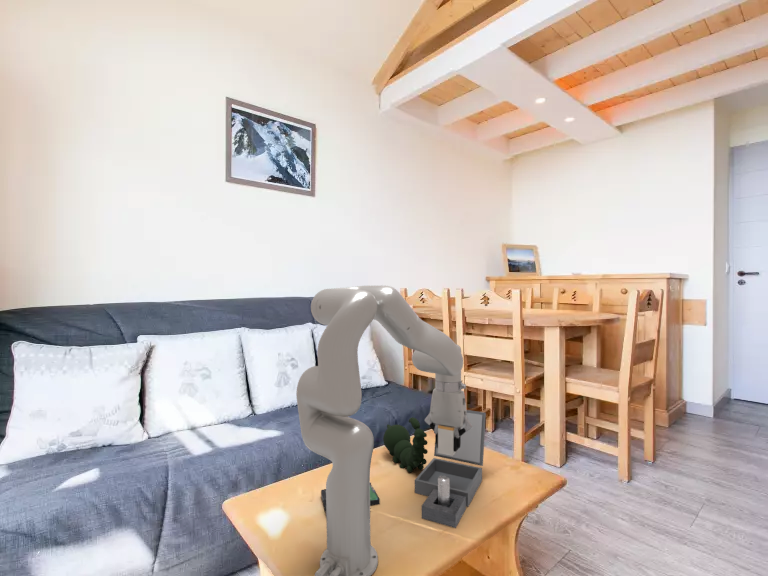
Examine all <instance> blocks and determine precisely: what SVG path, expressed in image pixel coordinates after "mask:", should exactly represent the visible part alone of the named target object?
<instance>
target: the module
mask: <svg viewBox="0 0 768 576" xmlns="http://www.w3.org/2000/svg"><path fill="white" fill-rule="evenodd" d="M454 437H455V432H454V427H450V426H444V425H438V453H441V454H446V455H450V456H453V455H454V454H455V453H456V452H457V451H456V452H455V451H454Z"/></svg>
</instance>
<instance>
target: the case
mask: <svg viewBox="0 0 768 576" xmlns="http://www.w3.org/2000/svg"><path fill="white" fill-rule="evenodd" d="M439 476H447V477H449V480H450V493H452V494H456V495H460V496H464V497H466V508H469V507H470V505H471V502H472V500H473V499H474V498H475V497H474V496H475V495H476V493H477V492H478V490H479V488H480V486H481V483H482V482H483V468H482V467H478V466H473V465H468V464H464V463H459V462H455V461H450V460H447V459H446V460H445V459H440V458H437V457H433V458H432V459H431V460H430V462H429V463H428V464H426V466H425V467H424V468H423V469H422V471H421V472H420V473H419V474H418V475H417V477H416V478H415V479H414V494H417V495H422V496H426V497H428V496H429V495H430V493H431V492H432V491H433V489H436V490H438V477H439Z"/></svg>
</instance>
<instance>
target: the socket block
mask: <svg viewBox="0 0 768 576" xmlns="http://www.w3.org/2000/svg"><path fill="white" fill-rule="evenodd" d="M466 510H467V507H466V497H464V496H460V495H456V494H452V493H450V508H448V507H444V506H441V505H438V490H436V489H433V491H432V492H431V493H430V495H429V496H427V497H426V499H425V501H424V502H423V503H422V505H421V519H422V520H426V521H430V522H433V523H436V524H440V525H444V526H447V527H450V528H454V529H457V527H458V526H459V523H460V521H461V519H462V517H463V515H464V513H465V511H466Z"/></svg>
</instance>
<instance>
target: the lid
mask: <svg viewBox="0 0 768 576" xmlns="http://www.w3.org/2000/svg"><path fill="white" fill-rule="evenodd" d="M466 411H467V418H468V420H469V422H470V423H471V425H472V428H471V429H470V430H469V431H467V432H465V433H464V434H463V435H461V445H460V448H459V449H458V450H457V452H456V453H455V454H454V455H453V456H450V455H446V454H441V453H438V448H437V444H436V443H435V442H434V449H433V450H434V453H433V457H436V458H437V457H439V458H442V459H446V460H447V459H448V460H451V461H457V462H461V463H466V464H471V465H477V466H481V467H483V466H484V451H485V433H486V432H485V431H486V417H487V416H486V415H487V413H486V412H483V411H475V410H470V409H466ZM464 427H465V424H463V426H462V427H461V429H462V428H464Z"/></svg>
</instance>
